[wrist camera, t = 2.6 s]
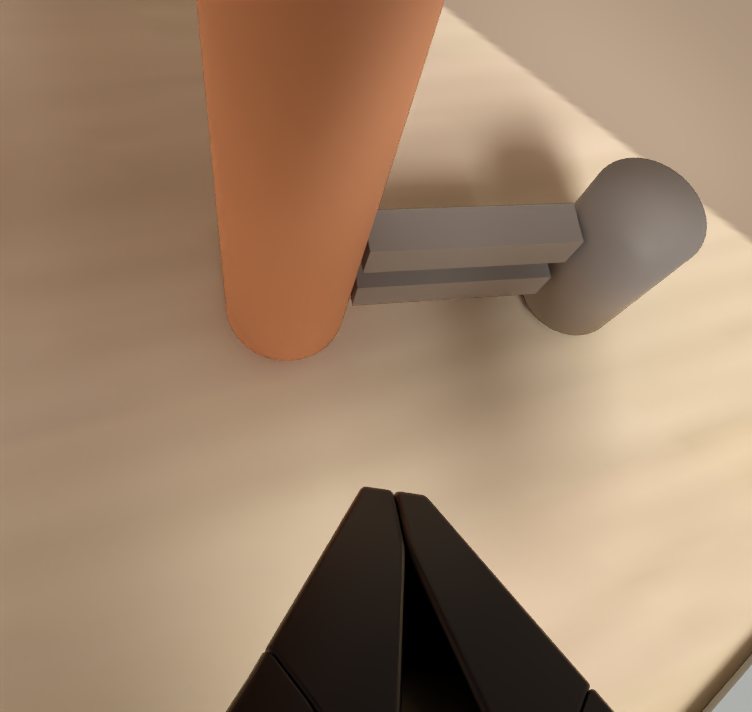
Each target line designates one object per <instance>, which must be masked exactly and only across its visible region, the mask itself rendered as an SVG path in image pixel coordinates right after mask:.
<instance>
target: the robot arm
mask: <svg viewBox="0 0 752 712" xmlns="http://www.w3.org/2000/svg"><path fill="white" fill-rule="evenodd" d="M589 688H590V685H589V683H588V682H587V681H586V679H585V678H584V677H583V676H582V675H581V674H580V673H579V671H578V670H577V669H576V668H575V667H574V666H573V664H572V663H571V662H570V661H569V660H568V659H567V658H566V656H565V655H564V654H563V653H562V652H561V651H560V650H559V648H558V647H557V646H556V645H555V644H554V643H553V642H552V640H551V639H550V638H549V637H548V636H547V635H546V633H545V632H544V631H543V630H542V629H541V628H540V627H539V625H538V624H537V623H536V622H535V621H534V620H533V619H532V617H531V616H530V615H529V614H528V613H527V612H526V610H525V609H524V608H523V607H522V606H521V605H520V604H519V602H518V601H517V600H516V599H515V598H514V597H513V596H512V594H511V593H510V592H509V591H508V590H507V589H506V587H505V586H504V585H503V584H502V583H501V582H500V581H499V579H498V578H497V577H496V576H495V575H494V574H493V573H492V571H491V570H490V569H489V568H488V567H487V566H486V564H485V563H484V562H483V561H482V560H481V559H480V558H479V556H478V555H477V554H476V553H475V552H474V551H473V550H472V548H471V547H470V546H469V545H468V544H467V543H466V541H465V540H464V539H463V538H462V537H461V536H460V535H459V533H458V532H457V531H456V530H455V529H454V528H453V527H452V525H451V524H450V523H449V522H448V521H447V520H446V519H445V517H444V516H443V515H442V514H441V513H440V512H439V510H438V509H437V508H436V507H435V506H434V505H433V504H432V502H431V501H430V500H429V499H428V498H427V497H426V496H424V495H419V494H412V493H405V492H396V493H395V494H394V495H393V493H392V492H391V491H389V490H385V489H378V488H371V487H363V488H361V489H360V491H359V492H358V494H357V496H356V497H355V499H354V501H353V502H352V504H351V506H350V508H349V509H348V511H347V513H346V514H345V516H344V518H343V519H342V521H341V523H340V524H339V526H338V528H337V529H336V531H335V533H334V535H333V536H332V538H331V540H330V541H329V543H328V545H327V546H326V548H325V550H324V551H323V553H322V555H321V556H320V558H319V560H318V562H317V563H316V565H315V567H314V568H313V570H312V572H311V573H310V575H309V577H308V578H307V580H306V582H305V583H304V585H303V587H302V589H301V590H300V592H299V594H298V595H297V597H296V599H295V600H294V602H293V604H292V605H291V607H290V609H289V610H288V612H287V614H286V616H285V617H284V619H283V621H282V622H281V624H280V626H279V627H278V629H277V631H276V632H275V634H274V636H273V637H272V639H271V641H270V643H269V644H268V646H267V648H266V650H265V652H264V653H263V654H262V655H261V657H260V659H259V660H258V662H257V664H256V665H255V667H254V669H253V670H252V672H251V674H250V675H249V677H248V679H247V680H246V682H245V683H244V685H243V686H242V688H241V689H240V691H239V692H238V694H237V696H236V697H235V699H234V700H233V702H232V703H231V705H230V706H229V708H228V709H227V711H226V712H614V711H613V710H612V709H611V708H610V707H609V705H608V704H607V703H606V702H605V701H604V700H603V699H602V697H601V696H600V695H599V694H598V693H597V692H596V691H595V690H593V689H591V690H589Z"/></svg>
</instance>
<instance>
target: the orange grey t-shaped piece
mask: <svg viewBox="0 0 752 712" xmlns="http://www.w3.org/2000/svg"><path fill="white" fill-rule="evenodd" d="M443 4H444V0H197V10H198V21H199V31H200V41H201V52H202V62H203V72H204V83H205V93H206V103H207V114H208V124H209V134H210V144H211V155H212V165H213V175H214V186H215V196H216V206H217V217H218V227H219V237H220V248H221V258H222V268H223V279H224V289H225V299H226V309H227V316H228V319H229V323H230V325H231V327H232V329H233V331H234V333H235V334H236V336H237V337H238V338H239V339H240V340H241V342H242V343H244V344H245V345H246V346H247V347H248V348H250V349H251V350H253V351H254V352H256V353H258V354H260V355H262V356H265V357H268V358H272V359H276V360H297V359H302V358H305V357H308V356H311V355H313V354H315V353H317V352H319V351H320V350H322V349H323V348H324V347H326V346H327V345H328V344H329V343H330V342H331V341H332V339H333V338H334V337H335V335H336V334H337V332H338V330H339V328H340V325H341V323H342V319H343V316H344V313H345V310H346V307H347V304H348V301H349V298H350V294H351V301H352V305H367V304H383V303H398V302H414V301H430V300H446V299H461V298H477V297H493V296H508V295H524V298H525V300H526V303H527V305H528V306H529V308H530V310H531V311H532V312H533V314H534V315H535V316H536V317H537V318H538V319H539V320H540V321H541V322H542V323H544V324H545V325H546V326H548V327H549V328H551V329H553V330H555V331H558V332H561V333H564V334H568V335H584V334H589V333H592V332H594V331H596V330H598V329H599V328H601V327H602V326H604V325H605V324H606V323H607V322H609V321H610V320H611V319H613V318H614V317H615V316H616V315H618V314H619V313H620V312H622V311H623V310H624V309H626V308H627V307H628V306H629V305H631V304H632V303H633V302H635V301H636V300H637V299H638V298H640V297H641V296H642V295H644V294H645V293H646V292H648V291H649V290H650V289H651V288H653V287H654V286H655V285H657V284H658V283H659V282H660V281H662V280H663V279H664V278H666V277H667V276H668V275H670V274H671V273H672V272H673V271H675V270H676V269H677V268H679V267H680V266H681V265H682V264H684V263H685V262H686V261H688V260H689V259H690V258H692V257H693V256H694V255H695V254H696V253H697V252H698V250H699V249H700V248H701V246H702V244H703V242H704V239H705V236H706V230H707V222H706V215H705V211H704V208H703V205H702V203H701V201H700V199H699V197H698V195H697V193H696V192H695V191H694V189H693V188H692V187H691V186H690V184H689V183H688V182H687V181H686V180H685V179H684V178H683V177H682V176H681V175H679V174H678V173H676V172H675V171H674V170H672V169H671V168H669V167H667V166H665V165H663V164H661V163H658V162H656V161H652V160H649V159H643V158H626V159H621V160H618V161H615V162H613V163H611V164H609V165H608V166H607V167H605V168H604V169H603V170H602V171H601V172H600V173H599V174H598V176H597V177H596V178H595V179H594V181H593V182H592V183H591V184H590V185H589V187H588V188H587V189H586V190H585V192H584V193H583V194H582V195H581V196H580V198H579V199H578V200H577V201H576V203H575V204H574V203H558V204H529V205H500V206H471V207H442V208H413V209H384V210H378V207H379V204H380V201H381V198H382V194H383V191H384V188H385V185H386V182H387V179H388V176H389V173H390V169H391V166H392V163H393V160H394V157H395V154H396V151H397V148H398V144H399V141H400V138H401V135H402V132H403V129H404V126H405V123H406V119H407V116H408V113H409V110H410V107H411V104H412V101H413V98H414V94H415V91H416V88H417V85H418V82H419V79H420V76H421V73H422V69H423V66H424V63H425V60H426V57H427V54H428V51H429V48H430V44H431V41H432V38H433V35H434V32H435V29H436V26H437V23H438V19H439V16H440V13H441V10H442V7H443Z"/></svg>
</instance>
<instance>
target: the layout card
mask: <svg viewBox="0 0 752 712" xmlns="http://www.w3.org/2000/svg"><path fill="white" fill-rule="evenodd" d="M702 712H752V654H751V655H750V656H749V658H748V659H747V660H746V661H745V662H744V663H743V665H742V666H741V667H740V668H739V669H738V670H737V672H736V673H735V674H734V675H733V676H732V677H731V679H730V680H729V681H728V682H727V683H726V684H725V685H724V687H723V688H722V689H721V690H720V691H719V692H718V694H717V695H716V696H715V697H714V698H713V699H712V701H711V702H710V703H709V704H708V705H707V706H706V708H705V709H704V710H703V711H702Z"/></svg>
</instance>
